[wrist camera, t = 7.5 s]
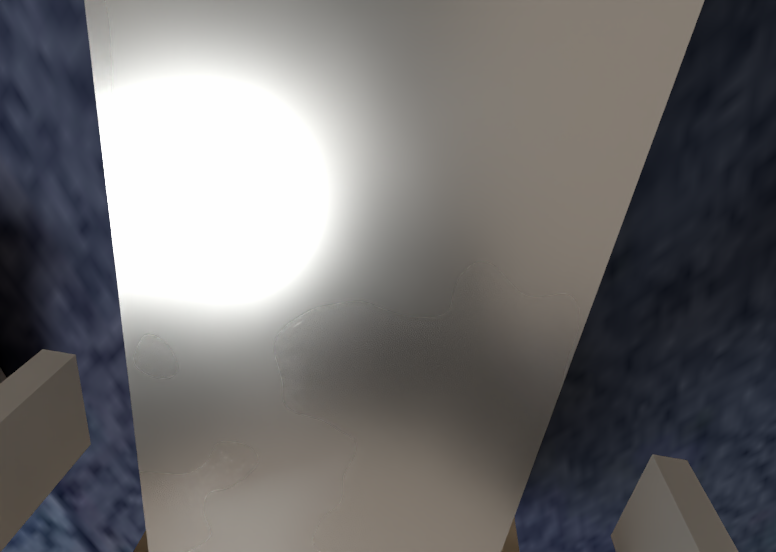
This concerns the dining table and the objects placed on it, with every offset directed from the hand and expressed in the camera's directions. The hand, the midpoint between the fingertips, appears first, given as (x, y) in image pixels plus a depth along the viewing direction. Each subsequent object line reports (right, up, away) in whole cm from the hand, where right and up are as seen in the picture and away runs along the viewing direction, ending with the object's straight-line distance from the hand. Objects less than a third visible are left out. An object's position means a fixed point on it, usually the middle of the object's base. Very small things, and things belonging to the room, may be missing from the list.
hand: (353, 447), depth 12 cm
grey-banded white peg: (0, +3, -3) cm, 4 cm away
